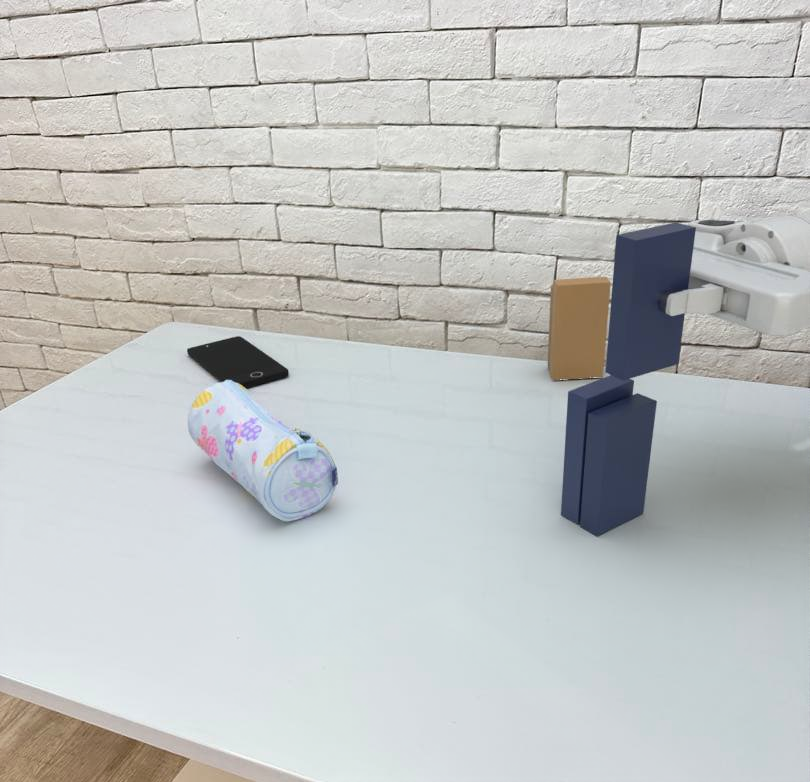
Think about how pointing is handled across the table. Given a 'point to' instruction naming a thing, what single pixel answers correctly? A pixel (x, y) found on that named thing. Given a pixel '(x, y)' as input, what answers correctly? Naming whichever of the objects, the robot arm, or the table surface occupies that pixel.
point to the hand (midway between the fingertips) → (648, 299)
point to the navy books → (606, 454)
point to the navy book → (647, 299)
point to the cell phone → (237, 362)
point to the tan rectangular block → (578, 327)
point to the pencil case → (262, 451)
